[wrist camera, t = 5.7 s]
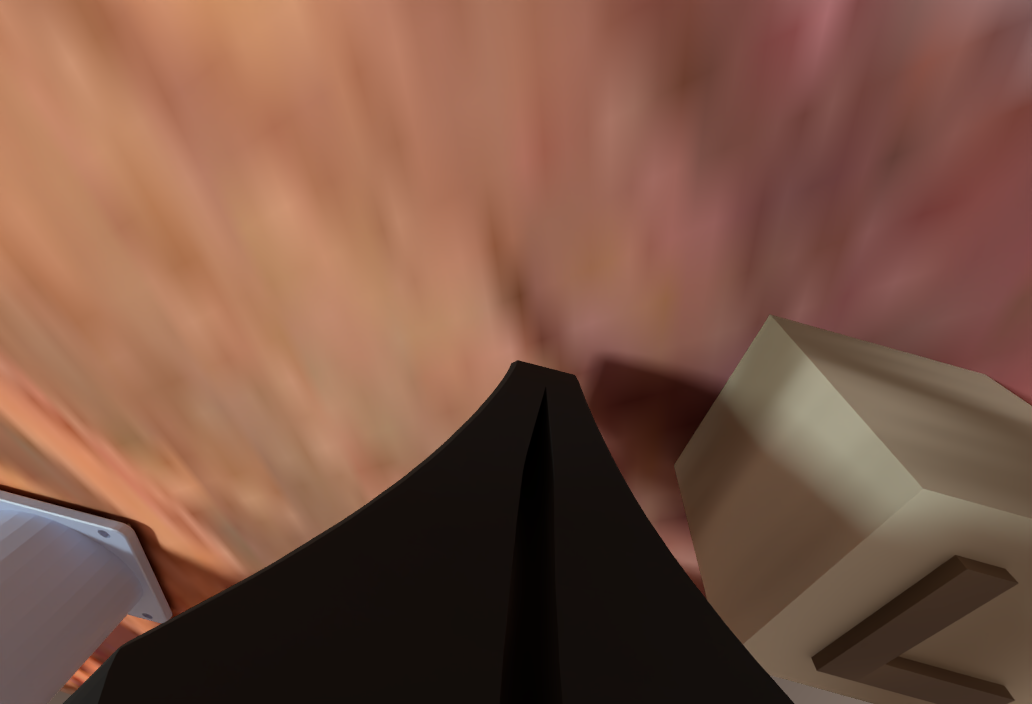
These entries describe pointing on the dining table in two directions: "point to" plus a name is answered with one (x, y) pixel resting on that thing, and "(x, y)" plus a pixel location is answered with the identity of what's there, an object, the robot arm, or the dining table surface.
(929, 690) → the letter cube
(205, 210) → the dining table surface
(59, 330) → the dining table surface
